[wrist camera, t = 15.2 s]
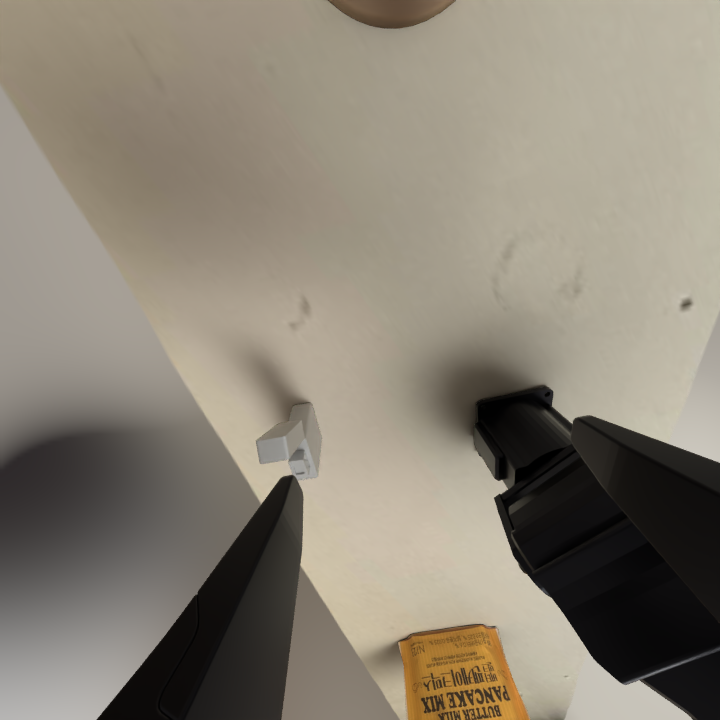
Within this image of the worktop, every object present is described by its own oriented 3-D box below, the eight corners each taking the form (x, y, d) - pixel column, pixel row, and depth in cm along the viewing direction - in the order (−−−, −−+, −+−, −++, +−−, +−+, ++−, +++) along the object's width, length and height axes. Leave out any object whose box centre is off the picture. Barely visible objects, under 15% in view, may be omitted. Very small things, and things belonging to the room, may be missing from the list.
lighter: (322, 438, 25) (314, 524, 18) (303, 441, 25) (288, 528, 18) (302, 372, 22) (282, 443, 15) (281, 376, 22) (251, 449, 15)
